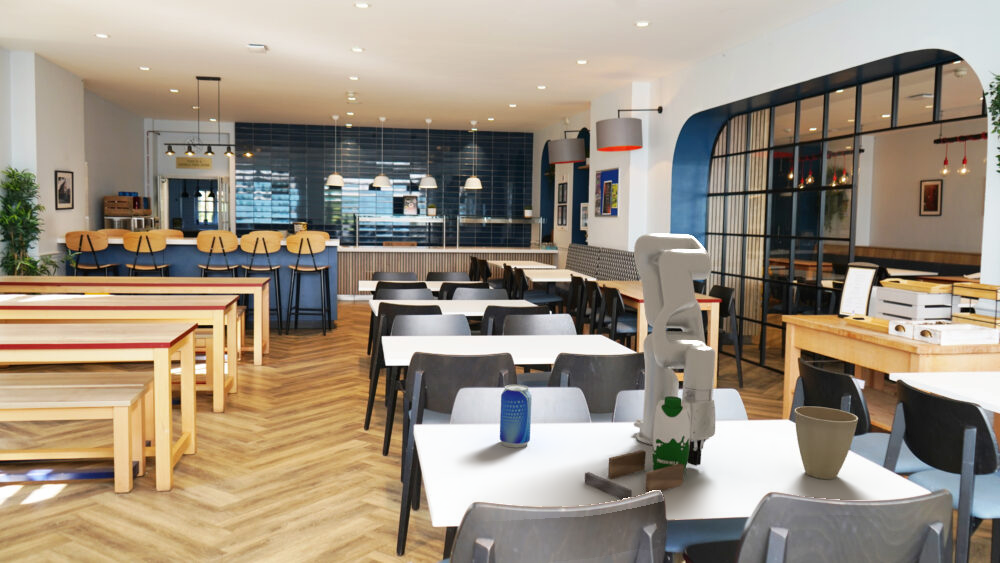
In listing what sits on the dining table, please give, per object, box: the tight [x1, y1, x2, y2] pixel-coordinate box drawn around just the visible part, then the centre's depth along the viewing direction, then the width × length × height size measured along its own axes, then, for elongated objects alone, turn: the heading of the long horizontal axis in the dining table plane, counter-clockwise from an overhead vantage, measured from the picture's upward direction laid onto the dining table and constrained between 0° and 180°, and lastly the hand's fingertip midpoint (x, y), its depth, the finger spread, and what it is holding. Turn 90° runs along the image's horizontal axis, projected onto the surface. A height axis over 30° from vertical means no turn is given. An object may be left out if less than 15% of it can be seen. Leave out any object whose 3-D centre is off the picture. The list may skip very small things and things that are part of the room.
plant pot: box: [794, 406, 859, 480], centre depth 195 cm, size 15×15×16 cm
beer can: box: [499, 384, 532, 448], centre depth 211 cm, size 8×8×16 cm
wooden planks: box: [584, 449, 685, 500], centre depth 183 cm, size 14×20×5 cm
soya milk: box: [652, 396, 691, 474], centre depth 190 cm, size 9×9×20 cm
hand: (693, 463), depth 197 cm, fingers closed
